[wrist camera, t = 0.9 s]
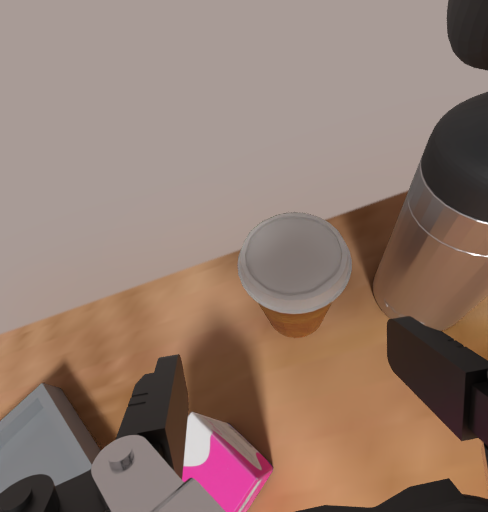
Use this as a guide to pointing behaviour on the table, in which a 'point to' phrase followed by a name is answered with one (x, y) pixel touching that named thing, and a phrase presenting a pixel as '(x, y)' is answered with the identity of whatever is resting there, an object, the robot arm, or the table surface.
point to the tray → (44, 439)
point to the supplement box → (223, 463)
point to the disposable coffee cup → (294, 270)
